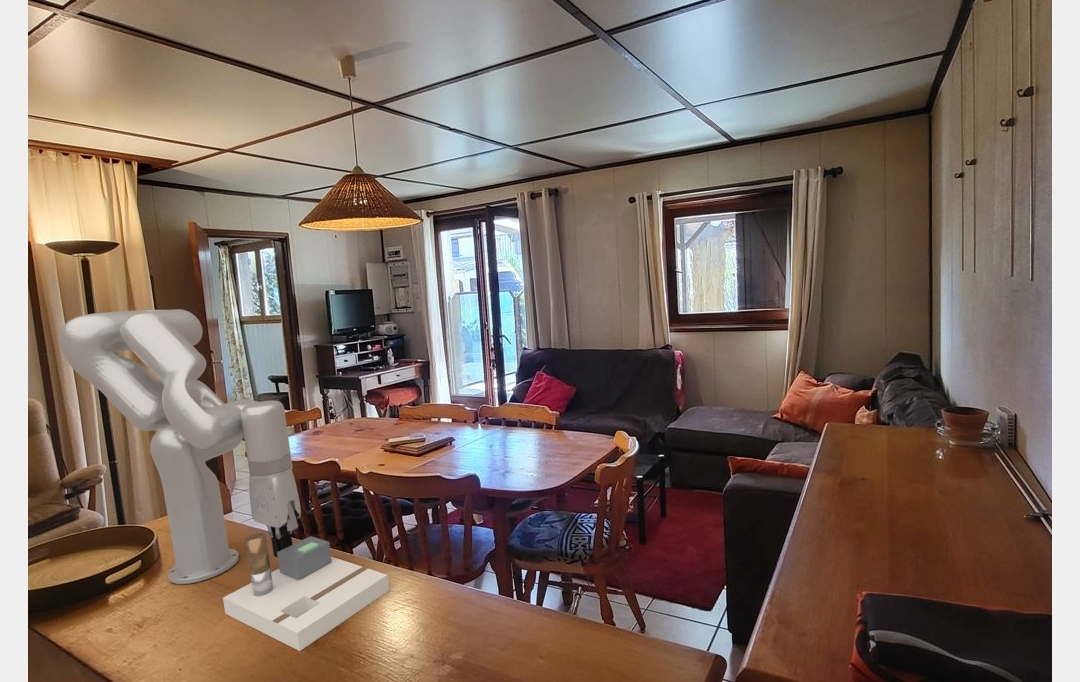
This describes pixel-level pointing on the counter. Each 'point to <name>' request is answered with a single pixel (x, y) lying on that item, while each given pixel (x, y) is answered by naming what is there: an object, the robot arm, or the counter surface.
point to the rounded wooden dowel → (259, 564)
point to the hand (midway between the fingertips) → (283, 554)
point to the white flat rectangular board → (307, 602)
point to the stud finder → (304, 557)
